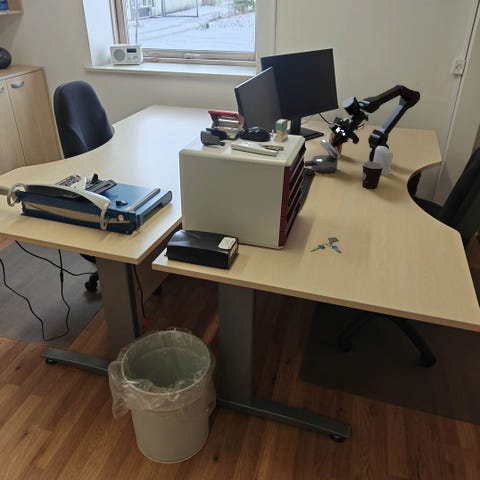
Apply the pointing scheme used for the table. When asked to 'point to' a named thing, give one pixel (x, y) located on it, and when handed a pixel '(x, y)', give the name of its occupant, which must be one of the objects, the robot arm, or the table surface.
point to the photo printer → (383, 159)
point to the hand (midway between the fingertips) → (331, 147)
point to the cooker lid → (330, 149)
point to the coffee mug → (371, 174)
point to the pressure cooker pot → (323, 164)
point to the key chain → (329, 243)
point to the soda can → (338, 148)
